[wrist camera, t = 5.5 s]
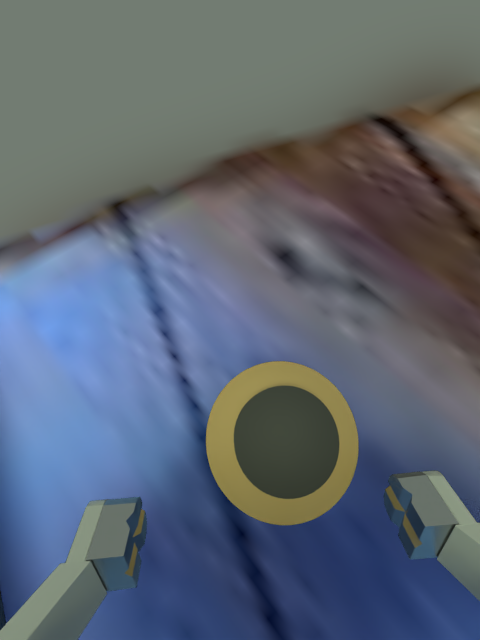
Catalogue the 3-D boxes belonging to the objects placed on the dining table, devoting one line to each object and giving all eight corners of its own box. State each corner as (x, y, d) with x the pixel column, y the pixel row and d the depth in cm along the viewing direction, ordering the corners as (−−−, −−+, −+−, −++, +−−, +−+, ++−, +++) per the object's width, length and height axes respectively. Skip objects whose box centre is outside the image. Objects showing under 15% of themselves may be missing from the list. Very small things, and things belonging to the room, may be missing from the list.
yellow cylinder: (284, 494, 16) (334, 571, 8) (200, 449, 16) (173, 482, 9) (320, 405, 17) (390, 400, 10) (240, 366, 18) (247, 332, 10)
